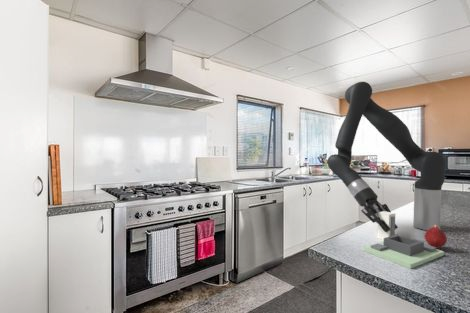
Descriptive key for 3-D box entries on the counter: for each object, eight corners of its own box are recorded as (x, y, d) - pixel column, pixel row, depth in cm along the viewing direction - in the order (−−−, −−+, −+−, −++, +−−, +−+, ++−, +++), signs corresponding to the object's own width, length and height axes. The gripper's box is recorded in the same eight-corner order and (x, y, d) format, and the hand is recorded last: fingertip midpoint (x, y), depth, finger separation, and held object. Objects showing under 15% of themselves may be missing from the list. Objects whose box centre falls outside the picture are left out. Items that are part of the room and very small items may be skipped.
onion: (450, 252, 80) (451, 228, 80) (430, 251, 81) (431, 227, 81) (439, 246, 86) (440, 223, 86) (420, 244, 87) (421, 222, 87)
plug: (383, 236, 95) (384, 211, 94) (396, 240, 91) (397, 213, 90) (377, 238, 93) (378, 212, 93) (390, 242, 89) (390, 215, 89)
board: (397, 240, 90) (397, 229, 90) (444, 255, 78) (444, 242, 78) (363, 250, 81) (363, 238, 81) (410, 268, 68) (410, 253, 68)
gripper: (356, 187, 95) (388, 227, 84) (378, 185, 102) (410, 222, 91) (344, 199, 100) (373, 238, 89) (366, 196, 106) (395, 232, 96)
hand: (391, 229), depth 90 cm, fingers closed on plug, 4 cm apart
